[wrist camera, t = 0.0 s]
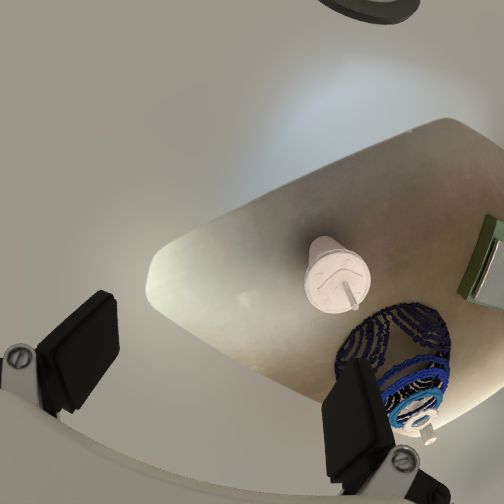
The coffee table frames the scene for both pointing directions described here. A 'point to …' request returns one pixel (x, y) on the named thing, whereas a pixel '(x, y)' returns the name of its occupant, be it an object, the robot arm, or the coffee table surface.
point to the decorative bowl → (406, 364)
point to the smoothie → (335, 277)
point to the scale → (481, 259)
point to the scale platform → (492, 278)
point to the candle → (428, 430)
